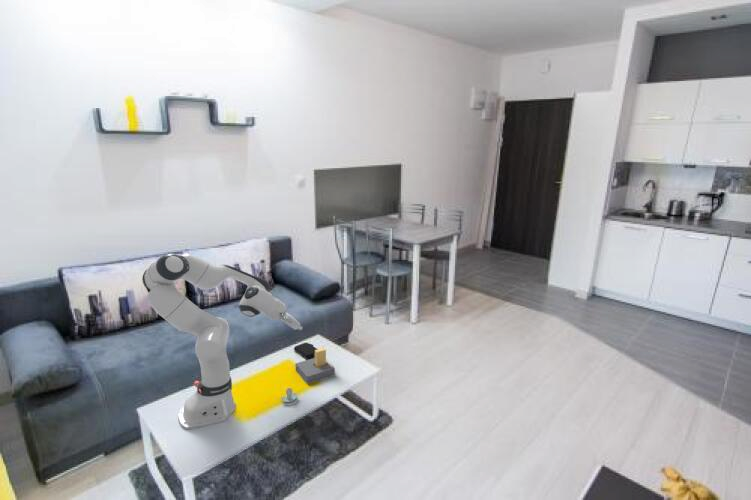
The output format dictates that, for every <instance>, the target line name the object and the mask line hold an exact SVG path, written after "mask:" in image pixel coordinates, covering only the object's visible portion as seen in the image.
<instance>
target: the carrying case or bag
mask: <svg viewBox="0 0 751 500" xmlns="http://www.w3.org/2000/svg"><path fill="white" fill-rule="evenodd" d="M317 349H318V348H316V347H315V346H314V344H311V343H309V342H302V343H300V344H298V345H295V346H294V347H293V350H294V351H295V352H296V353H297V354H299V355H300V356H301V357H303V358H304V359H306V360H309V359H313V358H315V350H317Z"/></svg>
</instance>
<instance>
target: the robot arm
mask: <svg viewBox="0 0 751 500" xmlns="http://www.w3.org/2000/svg"><path fill="white" fill-rule="evenodd" d="M180 279H181V280H183V281H186V282H188V283H190V284H191V285H193V286H194V287H197V288H198V289H201V290H204V291H209V290H212V289H215V288H217V287H218V286H219V285H221V284H223V282H225V281H226V280H228V279H232V280H235V281H238V282H240V283H243V284H245V285H246V287H247V288H246V290H245V292H244V294H243V296H241V299H240V301H239V304H238V308H239V311H240V312H241V314H243V315H244V316H246V317H256V316H257V315H260V314H261V313H263V314H264V315H265V316H266V317H268V318H269V319H271V320H273V321H280V320H281V321H282V322H284V324H286V325H288V326H289V327H290V328H292V329H293V330H294V331H297V330H298V331H302V330H303V328H304V327H303V326H302V325H301V323H300V322H299V321H298V320H297V319H296V318H294V317H293V316H292V315H291V314H290V313H288V312H287V306H286V304H285V303H284V302H283V301H281V300H280V299H279V298H277V297H275V296H273V294H272V293H270V292H271V285H270V283H269V280H266V279H265V278H262V277H259V276H256V275H253V274H251V273H248V272H245V271H243V270H241V269H238V268H237V267H234V266H231V265H228V264H219V265H216V264H212V263H210V262H208V261H206V260H204V259H203V258H202V257H201V258H200V257H199V256H196V255H193V254H191V253H183V254H181V255H179V254H175V253H168V254H164V255H162V256H160V257H159V258H158V259H157V260H155V261H153V262H151V264H150V265H149V266H148V268H146V270H144V272H143V275H142V281H141V282H142V284H143V286H144V287H145V289H146V291H147V292H148V294H147V297H146V301H147V303H148V305H150V307H151V308H152V310H154V311H155V312H156V313H157V314H158V315H159V316H160V317H162V319H164V320H165V321H167V323H169V324H170V325H171V326H173V327H174V328H176V330H177V331H180V332H186V333H190V334H192V335H193V336H196V337H197V339H196V341H195V350H194V351H195V356H196V357H197V359H198V362H199V366H200V374H201V381H199V380H196V381H194V383H193V385H194V386H195V388H196V391H195V392H193V394H191V395H190V396H189V397H187V399H185V402H184V405H183V407H182V408H180V410H179V411H178V416H177V417H178V423H179V425H180V426H181V427H183V429H185V430H190V429H194V428H199V427H204V426H209V425H213V424H218V423H224V422H225V421H227V419H228V417H229V416H230V415H231V414H233V413H234V412H235V410H236V407H237V405H236V402H235V400H234V397H233V391H232V389H233V388H232V387H233V383H232V382H233V380H232V377H231V372H230V370H231V369H230V361H229V359H228V358H229V357H228V354H227V345H228V344H227V343H228V339H229V335H230V326H229V323H228V321H227V320H226V319H225V318H224V317H222V316H220V317H219V316H214V315H213V314H211V313H208V312H207V311H205V310H203V309H201V308H200V307H199V306H198V305H196V304H195V303H194V302H193V301H191V300H190V299H189V298H187V297H186V296H185V295H184V294H183V293H181V292H180V291H179V290H178V289H177V288H176V286H175V283H176V282H178V280H180Z"/></svg>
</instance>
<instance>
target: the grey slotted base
mask: <svg viewBox="0 0 751 500" xmlns="http://www.w3.org/2000/svg"><path fill="white" fill-rule="evenodd" d="M335 370H336V369H335V366H334V365H333V363H331V361H329V360H328V359H327V358H326V365H324V366H321V367H317V368H316V367H315V357H313V358H311V359H306V360H303V361H299V362H296V363H295V372H296V373H297V374H298V376H300V378H301V379H302V380H303V381H304V382H305V384H306V385H309V384H312V383H314V382H317V381H322V380H324V379H327V378H331V377H334V376H335V375H336V373H335V372H336V371H335Z"/></svg>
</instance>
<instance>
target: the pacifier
mask: <svg viewBox="0 0 751 500" xmlns="http://www.w3.org/2000/svg"><path fill="white" fill-rule="evenodd" d="M285 394H286V396H281V398H280V399H281V400H282V401H283V404H284V405H285V406H292V405H295V404H297V402H298V401H299V399H298V393H297V392H293V388H292V387H288V388H286V390H285Z"/></svg>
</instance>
